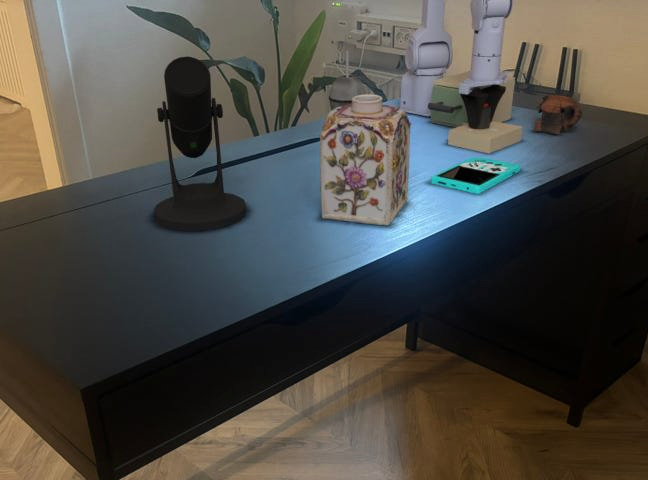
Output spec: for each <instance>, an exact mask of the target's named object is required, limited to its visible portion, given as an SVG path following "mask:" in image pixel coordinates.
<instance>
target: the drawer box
mask: <svg viewBox="0 0 648 480" xmlns="http://www.w3.org/2000/svg"><path fill="white" fill-rule="evenodd" d="M470 71H471V70H468V71H465V72H461V73H457V74H453V75H449V76H446V77H443V78H442V79H438V80H434V86H435V85H437V86H447V87H453V88H459V83H461V82H464V81H465V80H466V79H468V78H469V77H470ZM515 83H516V77H514V76H508V79H507V83H503V84H500V86H505V87H506V91H505V93H504V94H503V96H502V97H501V99H500V101H499V103H498V105H497V108H496V110H495V113H494V116H493V119H492V121H495V122H501V123H504V122H506V121H509V120H511V118H512V110H513V100H514V93H515ZM430 120H431V119H430ZM430 122H431V123H432V124H433V123H434V124H438V125H443V126H447V127H453V128H457V127H460V125H455V124H450V123H445V122H440V121H435V120H431V121H430Z"/></svg>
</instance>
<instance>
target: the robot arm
mask: <svg viewBox="0 0 648 480" xmlns="http://www.w3.org/2000/svg"><path fill="white" fill-rule="evenodd" d="M445 7H446V0H422V7H421V21H420V23H421V24H420V26H419V27H418V28H416V30H414V31H413V32H412V33H411V34H409V36H408V38H407V45H406V49H405V53H404V62H405V67H406V69H407V70H408V71H406V72H405V73H404V74H403V76H402V78H401V83H400V101H399V102H400V103H399V109H401V110H402V111H404V112H405V113H408V114H413V115H417V116H423V117H431V110H430V109H428V104H429V103H432V88H433V86H434V80H438V79H442V78H444V74H446V73H447V70H448V69H449V68H450V67H451V65H452V62H453V58H454V57H453V56H454V53H453V38H452V35H451V34H450V33H449V32H448V31H447V30H446V29H444V20H445V11H446V10H445V9H446V8H445ZM469 7H470V9H469V10H470V15H471V29H472V30H473V37H472V38H473V39H472V48H471V49H472V50H471V61H470V62H471V63H470V70H469V71H470V77H469V78H468V79H466V80H465V81H464V82H461V83H459V93H460V96H461V97H462V99H463V102H464V104H465V108H466V112H467V118H468V124H469V126H470V127H475V128H478V127H479V125H480V121H481V116H482V111H483V107H484V104H488V106H491V107H492V109H491V119H490V123H491V122H492V119H493V116H494V113H495V110H496V108H497V105H498V103H499V101H500V99H501V97H502V96H503V94H504V93H505V91H506V87H505V86H500V84H503V83H507V79H508V77H509V72H504V71H501V61H502V53H503V52H502V51H503V44H504V43H503V42H504V34H505V33H504V32H505V25H506V19H508V18H509V17H510V15H511V13H512V11H513V7H514V0H470V5H469Z"/></svg>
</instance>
